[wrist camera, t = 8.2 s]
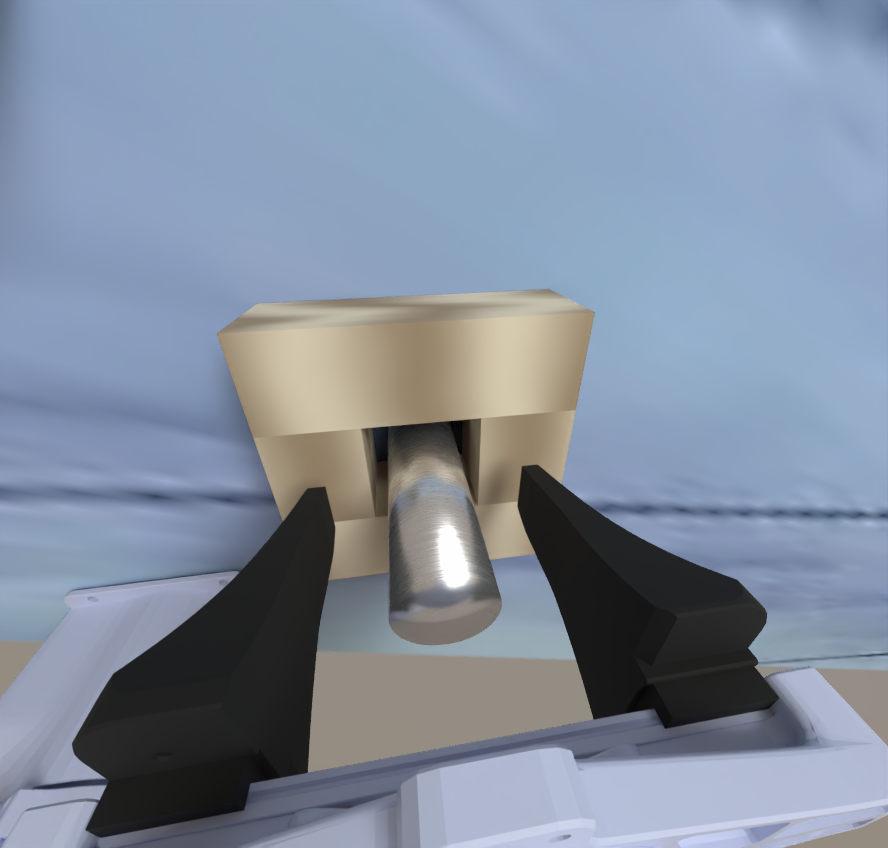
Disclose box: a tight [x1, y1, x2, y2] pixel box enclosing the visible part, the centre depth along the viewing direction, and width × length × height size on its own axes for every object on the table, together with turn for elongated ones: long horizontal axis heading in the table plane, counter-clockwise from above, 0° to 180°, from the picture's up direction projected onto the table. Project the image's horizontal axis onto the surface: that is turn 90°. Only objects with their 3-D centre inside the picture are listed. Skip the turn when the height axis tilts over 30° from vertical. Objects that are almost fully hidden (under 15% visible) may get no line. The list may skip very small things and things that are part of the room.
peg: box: [388, 421, 502, 645], centre depth 14 cm, size 3×3×10 cm
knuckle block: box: [217, 289, 595, 580], centre depth 16 cm, size 12×12×4 cm
